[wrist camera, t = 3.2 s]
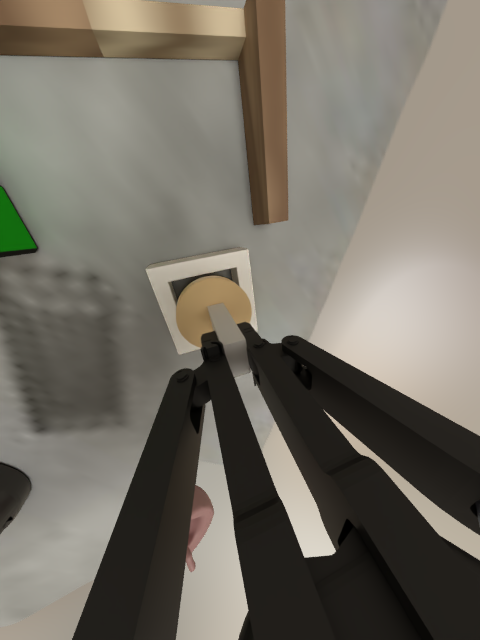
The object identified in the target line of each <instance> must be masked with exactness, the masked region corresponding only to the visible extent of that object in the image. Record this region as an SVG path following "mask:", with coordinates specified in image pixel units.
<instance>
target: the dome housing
mask: <svg viewBox="0 0 480 640" xmlns="http://www.w3.org/2000/svg"><path fill="white" fill-rule="evenodd" d="M230 268H231V274H232V280H233V282H235V283H236V284H237V285H238V286H239V287H240V288H242V289H243V291H244V292H245V293H246V294H247V296H248V298H249V300H250V303H251V308H252V316H251V321H250V324H251V326H252V327H253V328H254V329H255V331H256V332H258V329H257V320H256V311H255V303H254V294H253V285H252V277H251V268H250V259H249V251H248V249H245V248H241V247H238V248H233V249H228V250H222V251H217V252H212V253H207V254H202V255H197V256H191V257H186V258H181V259H176V260H171V261H166V262H160V263H155V264H150V265H149V266H148V267H147V268H146V269H145V270H146V272H147V275H148V278H149V280H150V283H151V285H152V288H153V290H154V293H155V295H156V298H157V300H158V303H159V306H160V308H161V311H162V313H163V316H164V318H165V321H166V323H167V326H168V329H169V331H170V334H171V336H172V339H173V341H174V344H175V346H176V349H177V351H178V354H179V355H181V354H184V353H187V352H191V351H194V350H198V349H201V348H200V347H197V346H195V345H193V344H191V343H189V342H188V341H187V340H186V339H185V338H184V337H183V336H182V335H181V333H180V331H179V329H178V327H177V323H176V306H177V301H178V300H177V297H176V294H175V291H174V288H173V285H172V282H171V281H174V280H179V279H184V278H188V277H193V276H197V275H202V274H207V273H211V272H216V271H221V270H225V269H230Z"/></svg>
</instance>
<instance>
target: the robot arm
mask: <svg viewBox="0 0 480 640" xmlns="http://www.w3.org/2000/svg"><path fill="white" fill-rule="evenodd" d="M207 308H208V312H209V316H210V320H211V323H212V327H213V331H212V332H208V333H205V334H202V336H201V344H202V347H201V353H202V356H203V360H204V362H203V364H202V365H201V366H200V367H198V368H197V369H195V370H191V369H189V368H186V369H181V370H179V371H177V372H176V373H174V374H173V375H172V377H171V378H170V381H169V384H168V386H167V389H166V392H165V394H164V397H163V400H162V402H161V405H160V407H159V410H158V413H157V415H156V418H155V421H154V423H153V426H152V429H151V431H150V434H149V437H148V439H147V442H146V445H145V447H144V450H143V453H142V455H141V458H140V461H139V463H138V466H137V469H136V471H135V474H134V477H133V479H132V482H131V484H130V487H129V490H128V492H127V495H126V498H125V500H124V503H123V506H122V508H121V511H120V514H119V516H118V519H117V522H116V524H115V527H114V530H113V532H112V535H111V538H110V540H109V543H108V546H107V548H106V551H105V554H104V556H103V559H102V561H101V564H100V567H99V569H98V572H97V575H96V577H95V580H94V583H93V586H92V588H91V591H90V593H89V596H88V599H87V601H86V604H85V607H84V609H83V612H82V615H81V617H80V620H79V623H78V625H77V628H76V631H75V633H74V636H73V638H72V640H176V633H177V625H178V617H179V609H180V601H181V594H182V586H183V578H184V570H185V562H186V554H187V546H188V539H189V531H190V523H191V515H192V507H193V499H194V491H195V484H196V475H197V467H198V460H199V452H200V444H201V436H202V428H203V421H204V413H205V403H207V402H208V401H210V400H211V401H212V406H213V411H214V416H215V422H216V427H217V432H218V437H219V443H220V448H221V453H222V458H223V464H224V469H225V474H226V479H227V485H228V490H229V495H230V500H231V505H232V511H233V518H234V531H235V538H236V544H237V549H238V555H239V560H240V566H241V571H242V577H243V582H244V588H245V593H246V599H247V604H248V610H249V611H248V613H247V616H246V618H245V621H244V623H243V626H242V629H241V632H240V635H239V639H238V640H480V561H479V560H478V559H476V558H474V557H473V556H472V555H470V554H468V553H467V552H465V551H463V550H462V549H460V548H459V547H457V546H456V545H454V544H452V543H451V542H449V541H447V540H446V539H444V538H443V537H441V536H439V535H438V533H437V532H436V531H435V530H434V529H433V528H432V527H431V525H430V524H429V523H428V522H427V521H426V519H425V518H424V517H423V516H422V515H421V514H420V512H419V511H418V510H417V509H416V508H415V506H413V504H412V503H411V502H410V501H409V500H408V498H407V497H406V496H405V495H404V494H403V493H402V491H401V490H400V489H399V488H398V487H397V485H396V484H395V483H394V482H393V481H392V480H391V478H390V477H389V476H388V475H387V474H386V473H385V472H384V470H383V469H382V468H381V467H380V466H379V465H378V464H377V463H376V462H375V461H374V460H372V459H371V458H369V457H366V456H363V455H360V454H359V453H358V452H357V451H356V450H355V449H354V448H353V447H352V445H351V444H350V443H349V441H348V440H347V439H346V438H345V436H344V435H343V434H342V433H341V432H340V430H339V429H338V428H337V427H336V425H335V424H334V423H333V422H332V420H331V419H330V418H329V417H328V415H327V414H326V413H325V412H324V410H325V411H326V412H327V413H328V414H329V415H330V416H332V417H333V418H334V419H335V420H336V421H338V422H339V423H340V424H341V425H342V426H343V427H345V428H346V429H347V430H348V431H349V432H350V433H352V434H353V435H354V436H355V437H356V438H357V439H359V440H360V441H361V442H362V443H363V444H364V445H366V446H367V447H368V448H369V449H370V450H371V451H373V452H374V453H375V454H376V455H377V456H379V457H380V458H381V459H382V460H383V461H385V462H386V463H387V464H388V465H389V466H390V467H392V468H393V469H394V470H395V471H396V472H397V473H399V474H400V475H401V476H402V477H403V478H404V479H406V480H407V481H408V482H409V483H410V484H412V485H413V486H414V487H415V488H416V489H417V490H419V491H420V492H421V493H422V494H423V495H425V496H426V497H427V498H428V499H429V500H431V501H432V502H433V503H434V504H436V505H437V506H438V507H439V508H441V509H442V510H443V511H445V512H446V513H448V514H449V515H451V516H452V517H453V518H455V519H456V520H457V521H459V522H460V523H462V524H463V525H465V526H466V527H468V528H470V529H471V530H472V531H474V532H476V533H477V534H479V535H480V436H478V435H477V434H475V433H473V432H471V431H469V430H468V429H466V428H464V427H462V426H460V425H458V424H456V423H455V422H453V421H451V420H449V419H447V418H446V417H444V416H442V415H440V414H439V413H437V412H435V411H433V410H431V409H429V408H428V407H426V406H424V405H422V404H420V403H419V402H417V401H415V400H413V399H411V398H410V397H408V396H406V395H404V394H402V393H400V392H399V391H397V390H395V389H393V388H391V387H390V386H388V385H386V384H384V383H382V382H380V381H378V380H377V379H375V378H373V377H371V376H369V375H368V374H366V373H364V372H362V371H360V370H359V369H357V368H355V367H353V366H351V365H350V364H348V363H346V362H344V361H342V360H341V359H339V358H337V357H335V356H333V355H331V354H330V353H328V352H326V351H324V350H322V349H320V348H319V347H317V346H315V345H313V344H311V343H310V342H308V341H306V340H304V339H303V338H301V337H298V336H294V335H291V336H286V337H284V338H283V339H282V343H276V344H271V343H269V342H268V341H267V340H265V339H261V337H260V336H259V335H258V333H257V332H256V331H255V329H254V328H253V327H252V326H251V324H250V323H247V322H242V323H239V324H236V323H235V321H234V319H233V318H232V316H231V315H230V313H229V311H228V310H227V308H226V306H225V305H224V303H219V304H215V305H211V306H207ZM250 368H251V370H252V373H253V379H254V385H255V386H256V384H257V386H258V388H259V390H260V392H261V394H262V396H263V398H264V400H265V402H266V404H267V406H268V408H269V410H270V412H271V414H272V416H273V418H274V420H275V422H276V424H277V426H278V427H279V430H280V431H281V433H282V436H283V438H284V440H285V442H286V443H287V446H288V448H289V449H290V452H291V454H292V456H293V458H294V460H295V462H296V464H297V466H298V467H299V470H300V472H301V474H302V476H303V477H304V480H305V481H306V484H307V486H308V488H309V490H310V492H311V494H312V496H313V498H314V500H315V502H316V504H317V506H318V509H319V512H320V516H321V519H322V521H323V524H324V526H325V529H326V531H327V533H328V535H329V537H330V539H331V541H332V543H333V545H334V548H335V550H336V552H335V554H333V555H330V556H321V557H320V556H319V557H309V558H304V556H303V553H302V551H301V548H300V546H299V543H298V540H297V538H296V535H295V532H294V530H293V527H292V524H291V522H290V519H289V517H288V514H287V512H286V509H285V507H284V505H283V503H282V500H281V499H280V497H279V496H278V493H277V491H276V488H275V486H274V483H273V481H272V478H271V475H270V473H269V470H268V467H267V465H266V462H265V459H264V457H263V454H262V451H261V449H260V446H259V443H258V441H257V438H256V435H255V433H254V430H253V427H252V425H251V422H250V419H249V417H248V414H247V411H246V409H245V406H244V403H243V401H242V398H241V395H240V392H239V390H238V387H237V384H236V382H235V379H234V378H235V377H238V376H241V375H244V374H247V373H250V372H251V371H250ZM30 490H31V485H30V482H29V480H28V479H27V478H26V476H24V475H23V474H22V473H21V472H19V471H17V470H15V469H13V468H11V467H8V466H5V465H2V464H0V534H1V533H2V531H3V530H4V529H5V528H6V527H7V526H8V525H9V524H10V523H11V522H12V521H13V520H14V519H15V517H16V516H17V514H18V513H19V511H20V510H21V508H22V506H23V504H24V503H25V501H26V499H27V497H28V496H29V494H30Z"/></svg>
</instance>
